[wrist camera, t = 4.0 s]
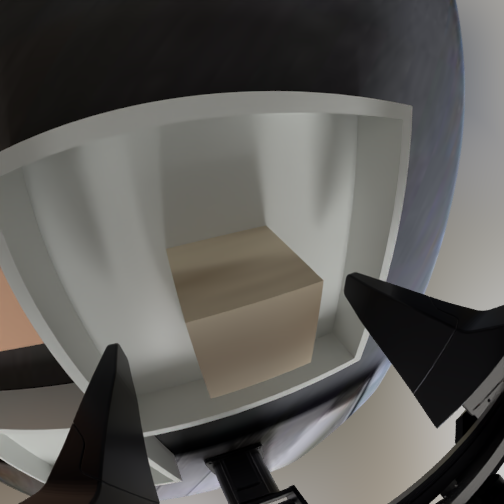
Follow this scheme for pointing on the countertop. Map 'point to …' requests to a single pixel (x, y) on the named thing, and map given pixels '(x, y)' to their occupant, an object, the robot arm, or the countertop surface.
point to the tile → (14, 321)
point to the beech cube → (246, 307)
